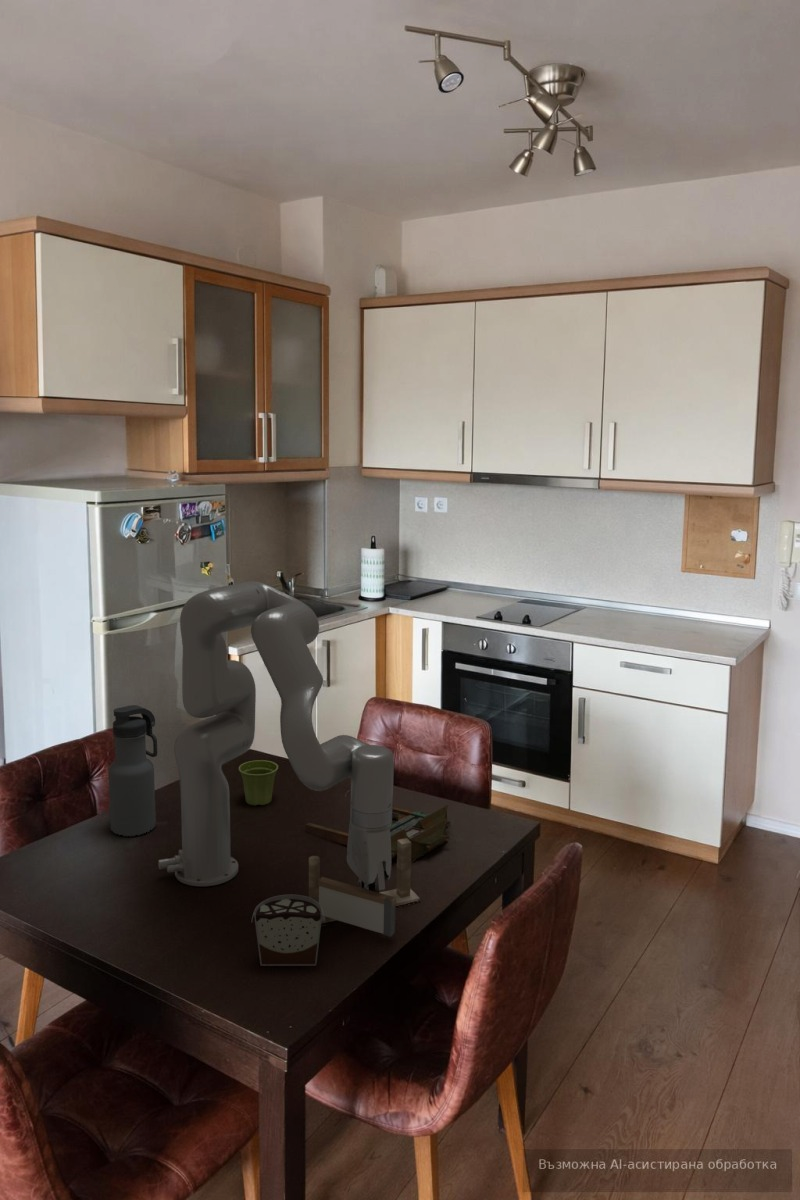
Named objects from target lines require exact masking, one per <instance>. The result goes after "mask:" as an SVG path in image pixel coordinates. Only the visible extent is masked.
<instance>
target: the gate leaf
mask: <svg viewBox="0 0 800 1200" xmlns="http://www.w3.org/2000/svg"><path fill="white" fill-rule="evenodd" d="M317 886H319V904H320V905H321V908H322V909H323V912H324V916H325V917H329V918H332V919H335V920H336V921H339V922H343V923H345V924H349V925H352V926H356V927H358V928H362V929H366V930H368V931H372V932H376V933H379V934H382V935H384V936H386V937H390V938H391V937H392V936H393V935H394V934H395V933H396V907H395V904H396V897H393V896H389V895H386V894H382V893H379V892H375V891H372V890H368V889H364V888H362V887H360V886H357V885H353V884H350V883H346V882H342V881H339V880H335V879H331V878H328V877H324V876H322V877H321V876H320V879H319V880H317Z"/></svg>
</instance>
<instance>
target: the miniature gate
mask: <svg viewBox="0 0 800 1200" xmlns="http://www.w3.org/2000/svg"><path fill="white" fill-rule="evenodd" d="M448 807H449V805H448V804H445V806H442V807H441V808H439V809H436V810H435V811H434V812H431V813H426V814H425V813H423V811H420V810H417V811H413V810H409V809H405V808H401V807H396V806H393V809H392V819H395V821H393V823H392V825H391V826H390V827H389V828H390V837H391V860H393V859H394V858H397V840H400V839H405V838H407V839H408V840H409V841H410V842H411V862H413V863H415V861H417V860H418V859H420V858H422V857H423V856H425V855H426V853H427V852H428V853H430V852H431V851H430V850H432V849H433V850H435V849H436V848H438V847H439V845H440V844H441V845H443V844H445V843H448V842H447V841H448V840H450V839H451V836H450V835H447V828H448V827H447V826H448V825H451V821H448ZM304 825H305V826H304V827H305V832H306V833H309V834H311V835H314V836H315V837H316V836H317V837H318V838H319V837H320V838H322V839H325V840H328V841H330V842H333V843H336V844H339V845H345V846H347V845H348V833H349V832H346V831H345V832H344V831H342V830H339V829H335V828H331V827H327V826H323V825H319V824H316V823H313V822H308V823H305V824H304ZM445 841H446V842H445ZM444 842H445V843H444ZM442 843H443V844H442ZM441 845H440V846H441ZM437 846H438V847H437ZM435 847H436V848H435ZM434 848H435V849H434ZM433 850H432V851H433ZM429 851H430V852H429ZM428 853H427V854H428ZM424 854H425V855H424ZM422 855H423V856H422ZM421 856H422V857H421ZM419 857H420V858H419ZM392 858H393V859H392ZM417 858H418V859H417ZM416 859H417V860H416Z"/></svg>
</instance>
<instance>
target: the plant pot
mask: <svg viewBox="0 0 800 1200" xmlns="http://www.w3.org/2000/svg"><path fill="white" fill-rule="evenodd" d="M278 769H279V765H278V764H277V763H276V762H274V761H270V760H264V759H260V760H259V759H258V760H251V761H245V762H243V763H241V764H240V765H239V766H238V771H239V772H240V776H241V778H242V785H243V791H244V796H245V797H244V799H245V802H246V803H247V804H248V805H250V806H258V805H260V806H266V805H268V804H269V803H271V802H272V799H273V798H272V797H273V790H274V784H275V776H276V774H277V771H278Z"/></svg>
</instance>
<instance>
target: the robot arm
mask: <svg viewBox="0 0 800 1200" xmlns="http://www.w3.org/2000/svg"><path fill="white" fill-rule="evenodd" d="M180 611H181V612H180V616H179V618H180V619H179V627H180V628H179V629H180V635H181V636H180V637H181V646H182V659H181V660H182V661H181V662H182V663H181V665H182V666H181V667H182V668H181V669H182V670H181V672H182V673H181V675H182V676H181V677H182V678H181V679H182V680H181V682H182V683H181V686H182V687H181V690H182V693H181V696H182V698H181V699H182V704H183V708H184V709H185V711H186V713H187V714H188V715H189V716H191V717H194V718H197V719H202V720H200V721H198V722H195V723H193V724H192V725H189V726H187V727H185V728H184V729H183V730H182V731H181V732H180V733H179V734H178V735H177V737H176V739H175V742H174V745H173V749H174V750H173V751H174V757H175V761H176V765H177V771H178V776H179V787H180V809H181V810H180V812H181V814H180V816H181V818H180V820H181V847H182V849H178V854H177V855H176V854H175V855H174V856H173V857H171V858H167V857H166V858H161V859H158V862H157V863H158V869H159V870H165V869H166V871H167V873H174V875H175V879H177V880H178V882H180V883H182V884H185V885H187V886H192V887H211V886H212V887H214V886H218V885H221V884H223V883H227V882H228V881H231V880H232V879H233V878H235V877H236V876H237V875H238V873H239V862H238V861H237V859H235V858H234V857H233V856H231V855H232V854H231V805H230V804H231V801H230V799H231V798H230V786H229V783H228V779H227V778H226V776H225V774H224V771H223V770H222V766H223V765H224V764H226V763H228V762H230V761H232V760H235V759H236V758H239V757H240V756H242V755H245V753H246V752H248V751H249V750H250V749H251V747H252V745H253V743H254V741H255V740H254V739H255V734H256V702H257V701H256V700H257V699H256V698H257V697H256V695H257V694H256V693H257V691H256V690H257V689H256V682H255V678H254V677H253V673H252V671H251V670H250V668H249V667H248V666H247V665H245V664H244V663H243V662H241V661H238V660H235V659H228V647H227V643H226V640H225V638H224V636H223V634H222V633H227V632H232V631H234V630H235V631H236V630H239V629H243V628H246V627H250V626H251V627H250V634H251V638H252V641H253V643H254V645H255V648H256V650H257V652H258V653H259V656H260V659H261V660H262V662H263V664H264V667H265V668H266V670H267V672H268V675H269V676H270V679H271V680H272V682H273V685H274V688H275V689H276V690H277V693H278V695H279V698H280V703H281V704H280V714H279V718H280V719H279V720H280V721H279V724H280V725H279V726H280V728H279V729H280V736H281V737H280V739H281V744H282V746H283V749H284V753H285V755H286V757H287V758H288V761H289V763H290V765H291V767H292V769H293V771H294V773H295V774H296V777H298V779H299V780H300V782H301V783H302V784H303V785H304V786H306V788H308V789H309V790H311V791H315V792H322V791H325V790H329V789H330V788H332V787H333V786H336V785H337V784H338V783H340V782H342V781H343V780H347V779H350V809H349V810H350V816H349V817H350V819H349V825H348V832H347V833H348V845H346V848H347V850H346V863H347V865H348V867H349V868H350V869H351V870H352V872H353V873H354V874H355V875H356V876H357V878H358V887H361V888H364V889H368V890H372V891H375V892H384V891H386V883H385V881H389V880H390V879H391V875H392V859H391V837H390V828H389V827H390V826H391V825H392V824H393V818H392V809H393V807H394V806H393V801H394V799H393V797H394V772H395V771H394V769H395V756H394V754H393V752H392V750H391V749H389V748H388V747H385V746H382V745H378V744H370V743H367V742H365V741H362V740H360V739H359V738H357V737H354V736H352V735H348V734H341V735H337V736H335V737H332V738H330V739H329V740H327V741H324V742H323V743H320V742H319V740H318V737H317V735H316V733H315V730H314V729H315V728H314V725H313V716H312V715H313V708H314V705H315V702H316V699H317V697H318V695H319V692H320V691H321V690H322V687H323V683H324V677H323V675H322V673H321V671H320V669H319V667H318V665H317V663H316V661H315V659H314V656H313V654H312V653H311V651H310V648H309V647H308V645H309V644H311V643H312V642H314V641H315V640H316V638H317V637H318V635H319V631H320V623H319V619H318V616H317V615H316V613H315V612H314V610H313V609H312V608H311V607H310V606H309V605H307V604H306V603H305V602H303V601H301V600H299V599H298V598H295V597H294V596H291V595H289V594H287V593H285V592H283V591H282V590H281V591H280V590H279V589H277V588H274V587H273V586H270V585H269V584H267V583H264V582H261V581H254V580H253V581H252V580H251V581H244V582H240V583H234V584H230V585H228V584H227V585H224V586H219V587H214V588H211V589H207V590H204V591H202V592H198V593H197V594H195V595H193V596H192V597H190V598H189V599H188V600H187V601H186V602H185V603H184V605H183V607H182V609H181V610H180ZM204 718H205V719H204Z"/></svg>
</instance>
